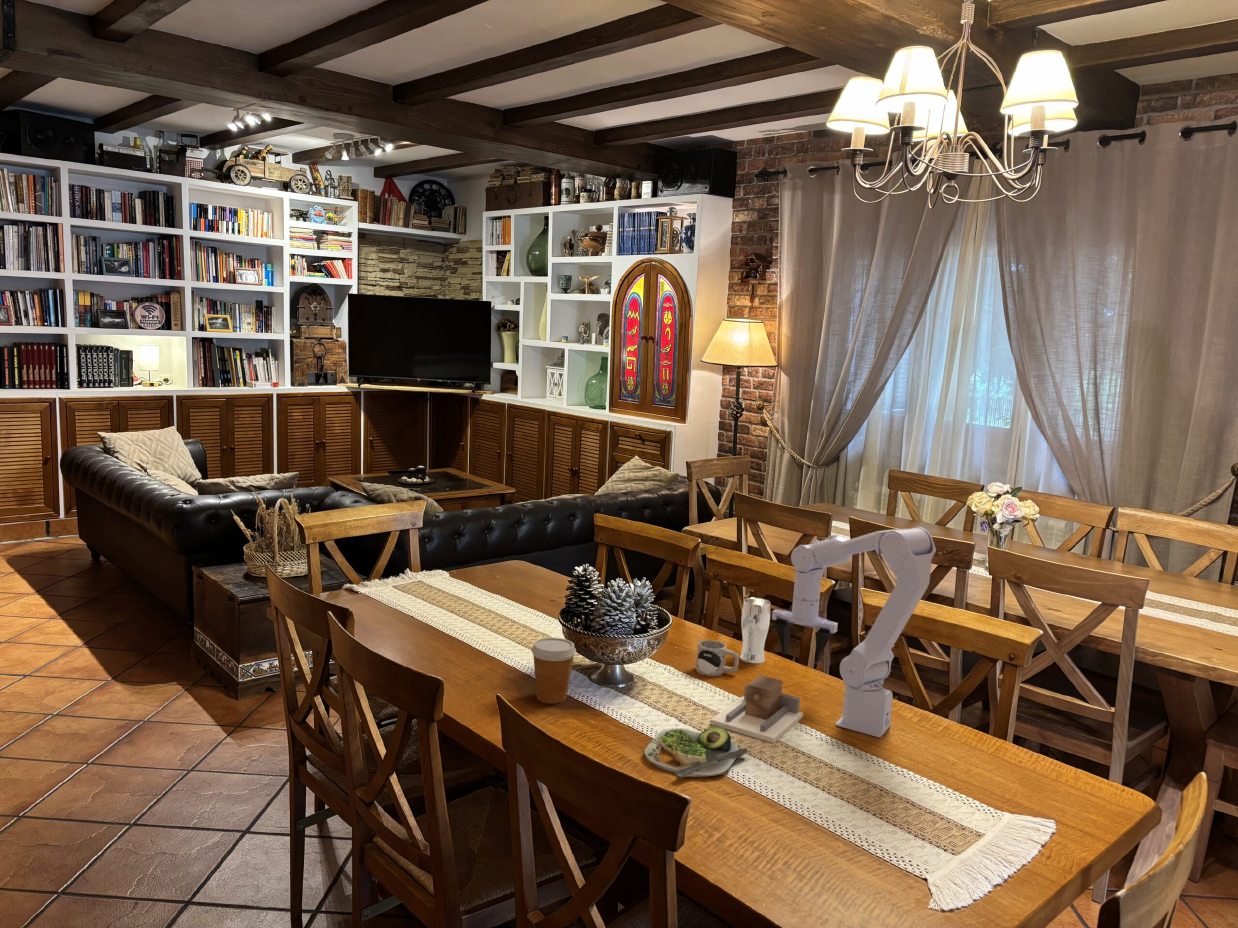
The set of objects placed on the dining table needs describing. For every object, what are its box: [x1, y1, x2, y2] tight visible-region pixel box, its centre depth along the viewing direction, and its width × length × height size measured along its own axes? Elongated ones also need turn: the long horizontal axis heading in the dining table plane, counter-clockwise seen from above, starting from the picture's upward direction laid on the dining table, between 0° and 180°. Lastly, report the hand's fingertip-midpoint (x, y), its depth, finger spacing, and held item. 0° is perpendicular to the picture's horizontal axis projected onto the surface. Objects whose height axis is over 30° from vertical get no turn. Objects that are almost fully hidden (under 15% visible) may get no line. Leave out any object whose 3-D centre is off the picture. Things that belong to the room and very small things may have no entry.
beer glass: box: [739, 597, 771, 665], centre depth 226 cm, size 7×7×15 cm
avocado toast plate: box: [643, 726, 749, 778], centre depth 170 cm, size 19×18×5 cm
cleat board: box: [709, 684, 804, 744], centre depth 190 cm, size 14×16×4 cm
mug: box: [695, 639, 740, 677], centre depth 216 cm, size 10×7×7 cm
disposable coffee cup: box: [531, 637, 577, 705], centre depth 195 cm, size 10×10×12 cm
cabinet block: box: [745, 674, 784, 720], centre depth 192 cm, size 5×8×6 cm, turn 148°
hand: (801, 656), depth 203 cm, fingers open, 7 cm apart
